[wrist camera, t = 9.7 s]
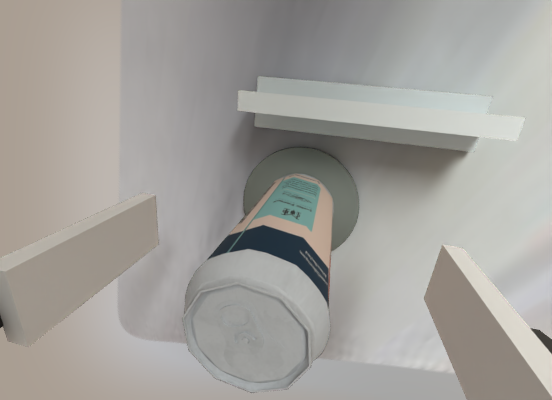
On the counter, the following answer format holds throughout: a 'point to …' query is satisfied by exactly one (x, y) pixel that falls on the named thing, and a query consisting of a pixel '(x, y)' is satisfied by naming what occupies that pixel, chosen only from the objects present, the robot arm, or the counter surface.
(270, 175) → the coaster
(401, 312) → the counter surface
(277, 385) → the beer can
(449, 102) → the divider
